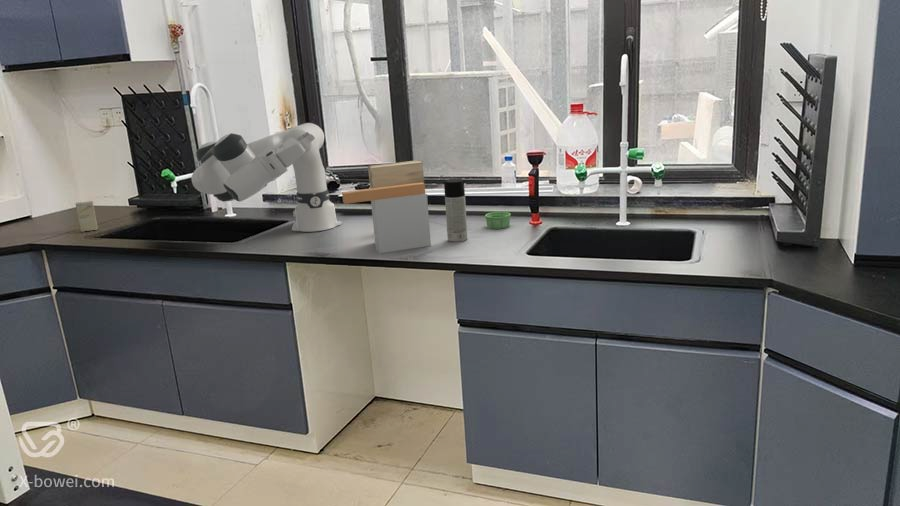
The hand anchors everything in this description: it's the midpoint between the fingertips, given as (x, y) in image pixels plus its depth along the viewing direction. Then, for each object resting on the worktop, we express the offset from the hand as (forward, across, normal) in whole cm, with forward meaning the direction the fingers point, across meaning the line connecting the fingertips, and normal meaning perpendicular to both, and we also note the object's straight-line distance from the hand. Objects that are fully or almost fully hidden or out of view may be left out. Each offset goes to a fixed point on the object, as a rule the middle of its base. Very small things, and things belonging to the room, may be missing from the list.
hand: (311, 134), depth 197 cm
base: (+2, +3, -46) cm, 46 cm away
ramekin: (+35, -6, -65) cm, 74 cm away
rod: (+7, +3, -29) cm, 30 cm away
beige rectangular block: (+4, -6, -47) cm, 47 cm away
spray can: (+18, +4, -55) cm, 58 cm away
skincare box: (-92, -98, +8) cm, 135 cm away
